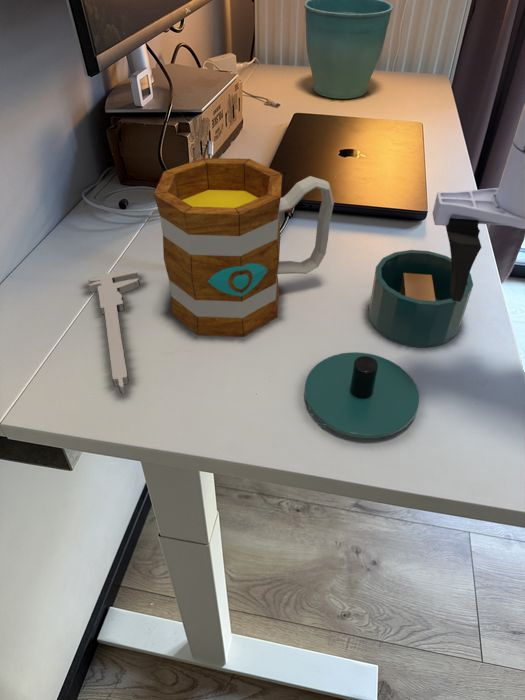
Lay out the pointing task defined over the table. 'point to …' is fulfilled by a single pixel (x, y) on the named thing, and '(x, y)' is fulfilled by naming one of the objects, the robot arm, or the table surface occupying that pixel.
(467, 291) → the pot
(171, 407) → the table surface
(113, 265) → the table surface
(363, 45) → the flower pot
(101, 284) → the caliper
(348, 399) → the pot lid
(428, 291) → the tall bronze cuboid
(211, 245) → the mug
